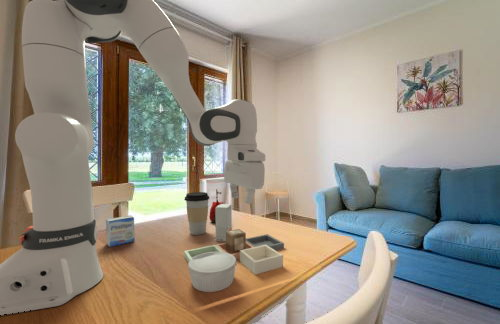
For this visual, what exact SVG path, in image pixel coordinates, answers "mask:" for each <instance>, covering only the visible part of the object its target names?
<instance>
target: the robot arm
mask: <svg viewBox="0 0 500 324" xmlns="http://www.w3.org/2000/svg"><path fill="white" fill-rule="evenodd" d="M122 33H123V34H125V35H126V36H128V37H129V39H130V40H131V41H132V42H133V43H134V45H135V47H136V48H137V50H138V52H139V53H140V54H141V56H142V57H143V58H144V60H145V61H146V63H147V64H148V65H149V67H150V68H151V69H152V70H153V72H154V73H155V74H156V75H157V76H158V78H159V79H160V80H161V81H162V83H163V84H164V86H166V88H167V90H169V92H170V93H171V95H172V97H173V99H174V100H175V102H176V103H177V105H178V107H179V108H180V109H181V111H182V113H183V114H184V116H185V117H186V120H187V122H188V125H189V132H190V135H191V137H192V140H194V141H195V142H196V143H197V144H198V145H200V146H205V147H210V146H213V145H215V144H217V143H218V144H219V143H221V142H223V141H225V142H226V143H227V157H226V158H227V159H226V161H225V163H224V174H223V180H224V182H225V183H227V184H229V188H230V192H231V193H230V194H231V198H232V199H233V200H234V199H239V192H238V187H241V188H246V191H245V192H247V193H246V196H245V197H244V203H245V204H247V205H250V204H253V201H254V200H253V198H254V196H255V193H256V190H261V189H263V187H264V185H265V176H266V175H265V164H264V162H265V161H266V154H265V153H264V152H262V151H260V150H259V148H257V147H258V145H257V139H256V137H257V133H258V118H257V116H258V115H257V109H256V107H255V105H254V104H253V103H252V102H250V101H248V100H245V99H239V98H238V99H231V100H230V101H229V102H228V103H225V104H223V105H221V106H218V107H217V106H216V107H213V108H209V109H205V107H204V106H203V104H202V102H201V100H200V99H199V97H198V95H197V94H196V92H195V91H194V88H193V86H192V84H191V81H190V75H189V74H190V73H189V72H190V71H189V63H190V62H189V60H190V59H189V58H190V57H189V53H188V50H187V47H186V45H185V43H184V41H183V39H182V37H181V35H180V33H179V32H178V30H177V28H175V26H174V25H173V23H172V21H171V20H170V19H169V17H168V16H167V15H166V13H165V12H164V11H163V10H162V8H161V7H160V6H159V5H158V4H157V2H155V0H30V1H29V2H28V3H27V4H26V5H25V8H24V13H23V18H22V26H21V47H22V48H21V49H22V51H21V52H22V61H23V63H22V64H23V74H24V75H23V76H24V77H23V78H24V86H25V90H26V91H27V94H28V97H29V100H30V102H31V103H30V104H31V107H32V110H33V114H31V115H29V116H26V117H25V118H24V119H22V120H21V121H20V123H19V124H18V125H17V126H16V130H15V133H14V138H15V139H14V140H15V144H16V146H17V148H18V149H19V151H20V153H21V156H22V157H21V158H22V162H23V166H24V170H25V175H26V178H27V181H28V185H29V189H30V195H31V196H30V197H31V205H32V206H31V211H32V225H30V226H28V227H27V228H25V229H24V231H23V233H22V234H21V235H20V237H19V244H21V246H22V247H21V248H20V249H18V250H17V251H15V252H14V253H13V254H12V255H10V256H8V257H7V258H6V259H5V260H4V261H3V262H1V263H0V315H1V316H5V315H4V314H7V315H13V314H19V313H24V311H25V312H29V311H30V310H31V311H35V310H41V309H46V308H53V307H59V306H62V305H64V304H65V303H67V302H69V301H70V300H72V299H73V298H74V297H76V296H77V295H80V294H81V293H82V294H83V293H84V292H86V291H88V290H89V289H91V288H94V286H95V285H97V284H98V283H99V282H100V281H101V280H103V277H104V272H103V270H102V268H101V264H100V260H99V258H98V252H97V246H96V243H97V240H98V235H97V234H98V230H97V229H98V227H97V223H96V219H94V197H93V196H94V195H93V194H94V193H93V186H92V178H91V173H90V172H91V171H90V163H89V156H90V154H91V153H92V152H93V149H94V145H95V141H94V132H93V131H94V129H93V121H92V115H91V114H92V113H91V107H90V99H89V93H88V77H87V64H86V63H87V61H86V51H85V50H86V49H85V45H86V44H85V43H87V44H95V43H103V44H104V43H112V42H114V41H116V40H118V39H119V37H120V36H121V34H122ZM18 312H19V313H18ZM12 313H13V314H12Z"/></svg>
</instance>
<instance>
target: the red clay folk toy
mask: <svg viewBox="0 0 500 324" xmlns="http://www.w3.org/2000/svg"><path fill="white" fill-rule="evenodd" d="M215 189H216V188H215ZM215 191H216V196H215V198H216V201H213V202H211V203H212V204H211V207H210V209H209V218H208V219H209V221H210V222H211V223H214V224H216V217H215V208H216V207H217V206H218V205H220V204H225V203H224V202H223V201H221V202H220V201H219V199H218V194H220V195H222V192H221V191H218V188H217V189H216V190H215Z"/></svg>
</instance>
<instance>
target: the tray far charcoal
mask: <svg viewBox="0 0 500 324" xmlns="http://www.w3.org/2000/svg"><path fill="white" fill-rule="evenodd" d="M246 242H248V243H249V244H251V245H252V246H254V247H257V246H262V245H267V246H269V247H270V248H272V249H274V250H275V251H277V250H282V249H284V248H285V242H283V241H281V240H279V239H277V238H275V237H273V236H271V235H270V234H262V235H257V236H252V237H247V238H246Z"/></svg>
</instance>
